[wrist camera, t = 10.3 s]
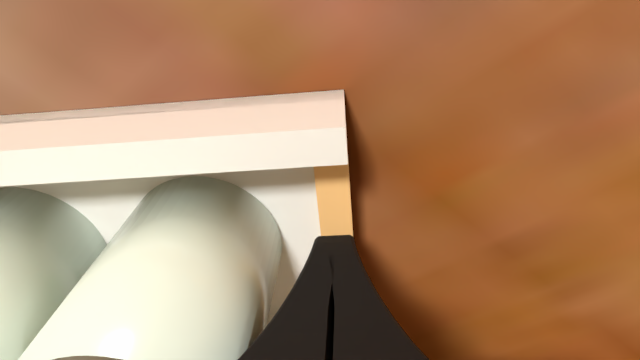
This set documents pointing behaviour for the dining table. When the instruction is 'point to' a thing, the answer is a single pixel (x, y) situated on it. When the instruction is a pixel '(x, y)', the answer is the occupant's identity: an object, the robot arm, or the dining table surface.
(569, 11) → the dining table surface
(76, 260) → the stocked jar
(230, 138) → the tray
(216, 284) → the jar
